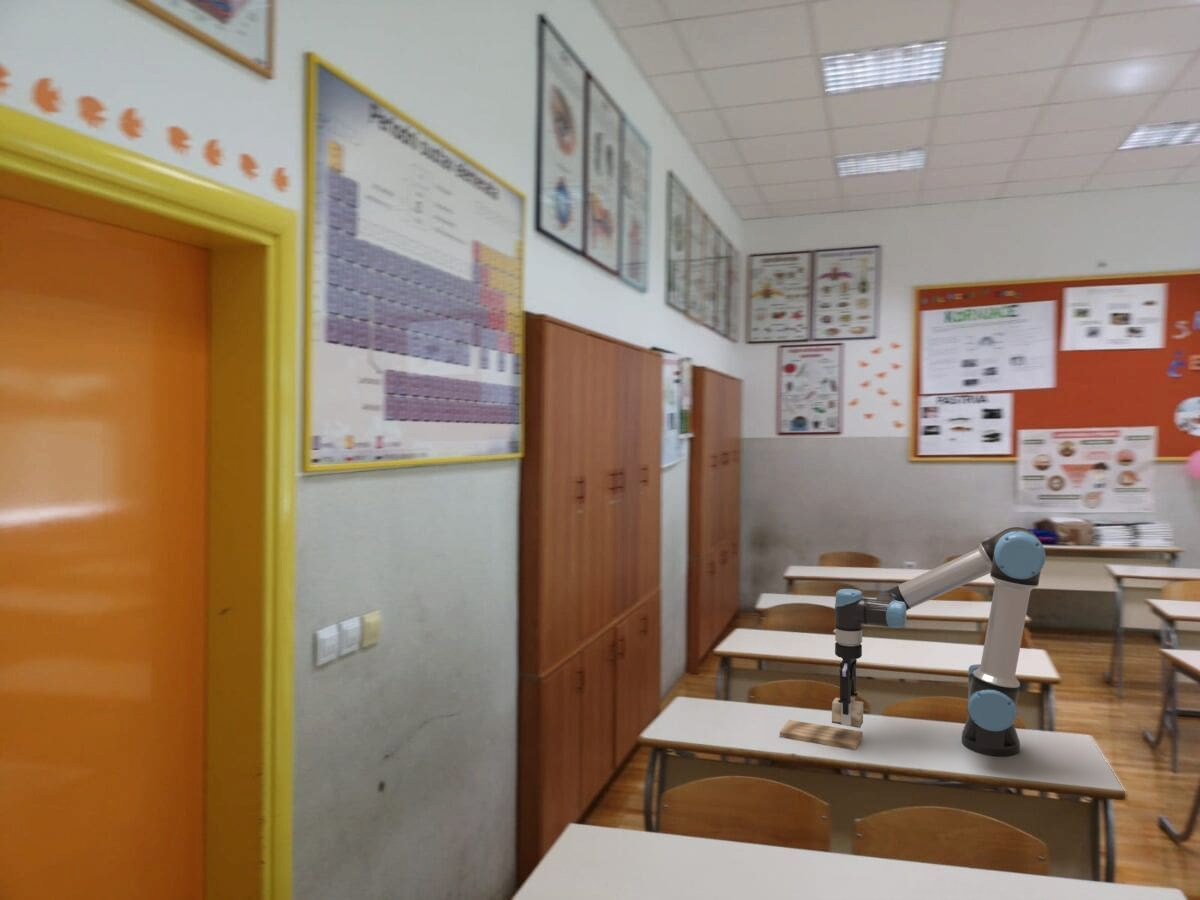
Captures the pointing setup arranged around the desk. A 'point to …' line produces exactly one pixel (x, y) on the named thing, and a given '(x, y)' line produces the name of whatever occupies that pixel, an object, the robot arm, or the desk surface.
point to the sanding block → (855, 713)
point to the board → (822, 734)
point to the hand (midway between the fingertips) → (848, 721)
